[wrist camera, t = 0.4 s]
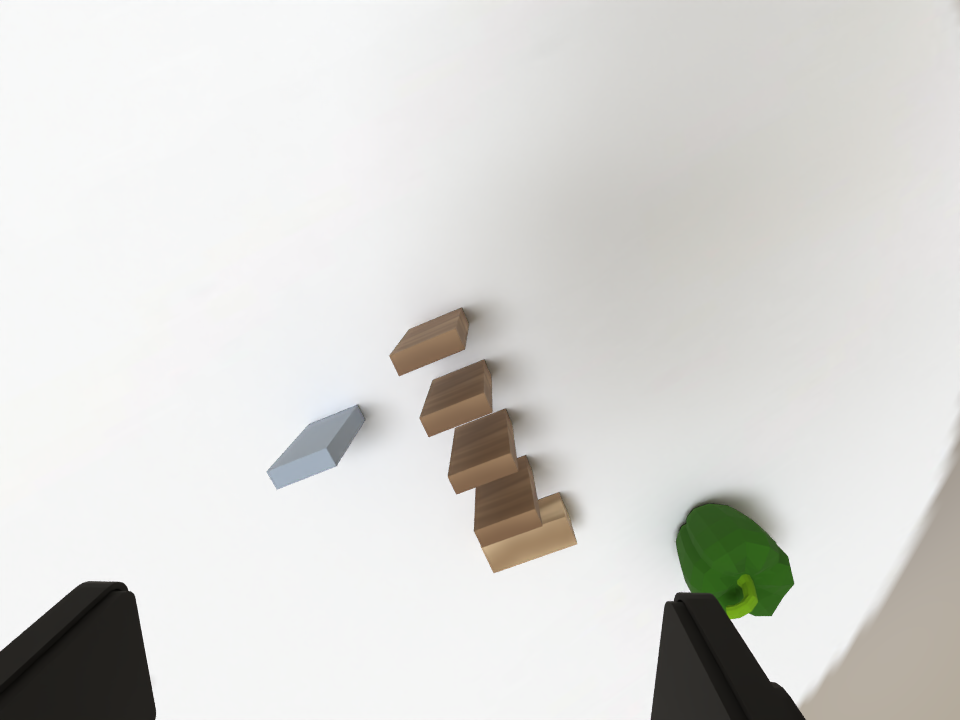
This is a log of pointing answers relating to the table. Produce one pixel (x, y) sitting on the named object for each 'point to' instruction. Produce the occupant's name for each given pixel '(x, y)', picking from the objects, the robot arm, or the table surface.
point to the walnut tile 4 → (507, 506)
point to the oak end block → (535, 537)
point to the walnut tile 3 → (482, 452)
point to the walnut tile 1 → (431, 342)
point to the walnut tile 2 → (457, 398)
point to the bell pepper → (733, 561)
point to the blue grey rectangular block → (317, 447)
